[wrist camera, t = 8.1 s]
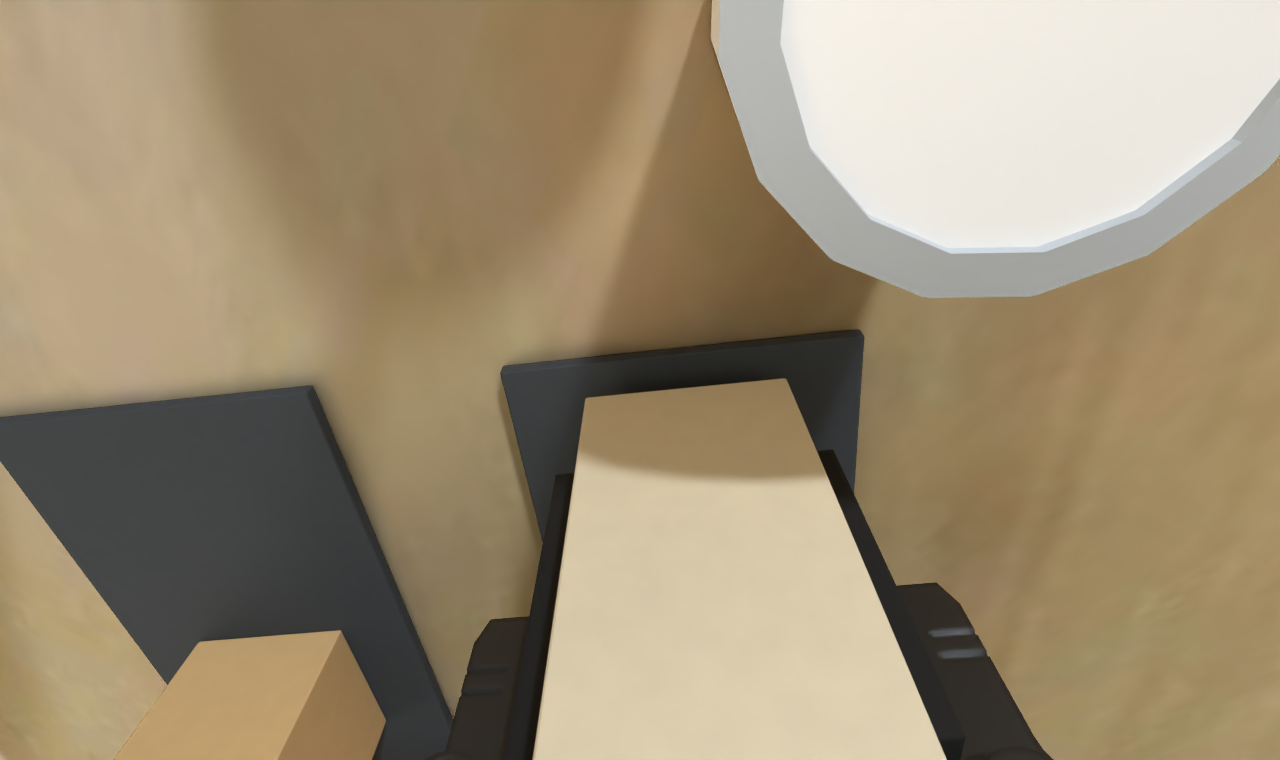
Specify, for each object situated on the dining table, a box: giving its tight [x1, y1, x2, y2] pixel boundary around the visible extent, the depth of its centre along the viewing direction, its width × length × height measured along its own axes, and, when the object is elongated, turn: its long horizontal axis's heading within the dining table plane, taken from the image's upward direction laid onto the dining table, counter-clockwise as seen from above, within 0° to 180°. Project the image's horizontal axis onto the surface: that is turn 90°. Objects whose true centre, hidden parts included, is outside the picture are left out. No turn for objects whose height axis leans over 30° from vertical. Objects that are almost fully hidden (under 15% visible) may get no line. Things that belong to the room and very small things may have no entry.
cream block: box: [532, 378, 947, 760], centre depth 12 cm, size 5×5×9 cm
